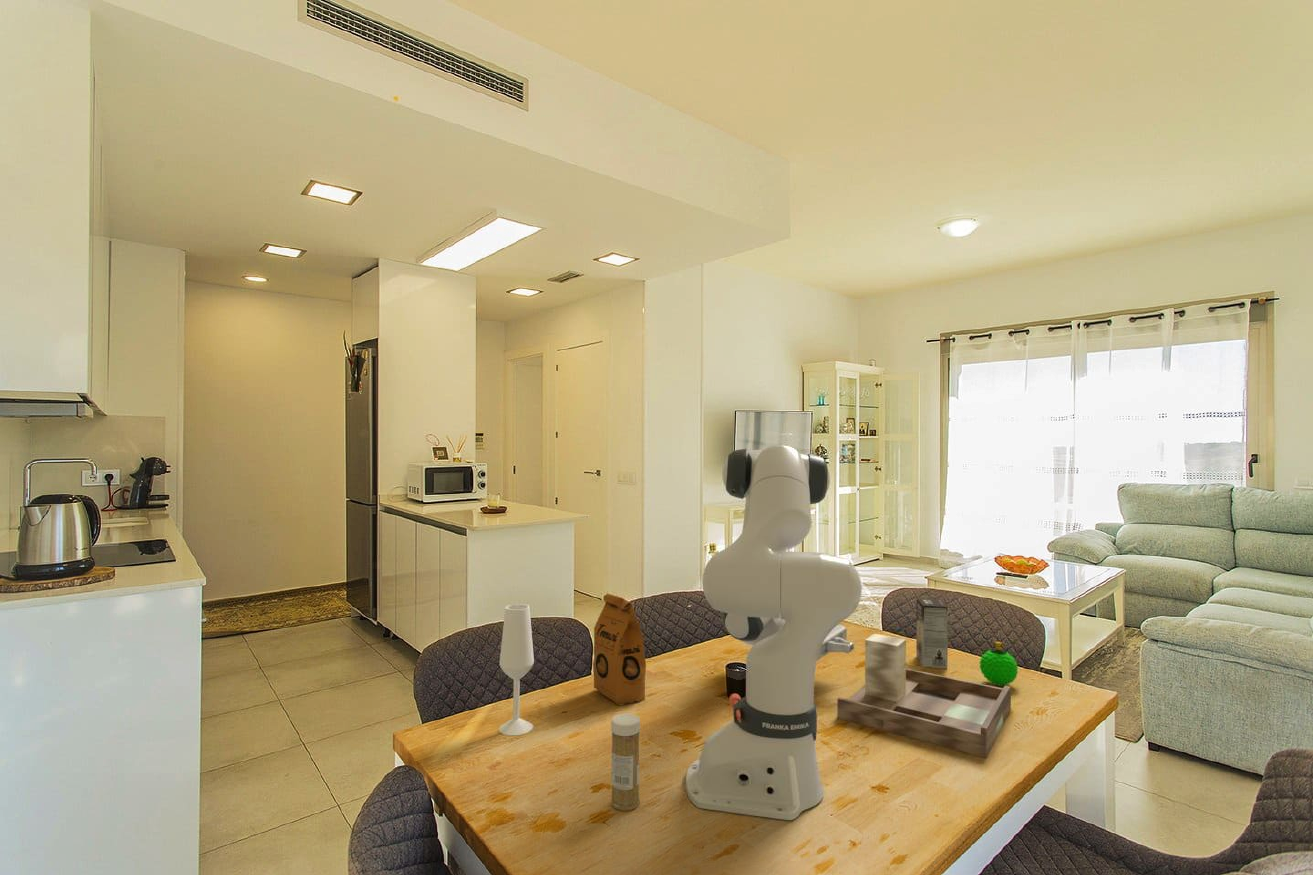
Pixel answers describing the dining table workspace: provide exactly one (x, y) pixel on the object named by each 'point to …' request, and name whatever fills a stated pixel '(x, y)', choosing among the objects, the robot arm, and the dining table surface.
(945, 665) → the coffee box
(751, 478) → the robot arm
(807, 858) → the dining table surface
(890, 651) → the birch block
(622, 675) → the coffee package
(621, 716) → the spice jar
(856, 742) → the dining table surface
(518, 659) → the champagne flute
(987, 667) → the ornament
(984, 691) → the tray
